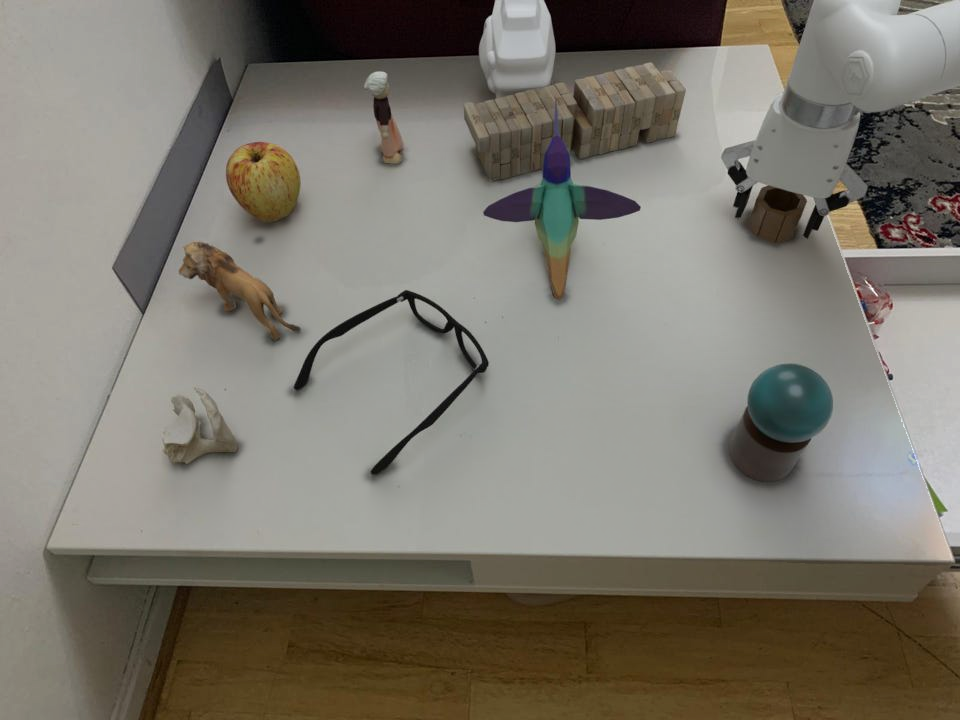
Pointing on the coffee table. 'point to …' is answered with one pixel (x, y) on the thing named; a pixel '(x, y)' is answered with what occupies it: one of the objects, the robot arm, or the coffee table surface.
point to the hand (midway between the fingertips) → (773, 220)
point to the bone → (195, 431)
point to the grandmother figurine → (385, 117)
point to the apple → (263, 180)
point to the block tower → (575, 118)
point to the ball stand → (780, 421)
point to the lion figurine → (232, 283)
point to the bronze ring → (776, 214)
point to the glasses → (449, 326)
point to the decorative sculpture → (559, 209)
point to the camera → (517, 47)
